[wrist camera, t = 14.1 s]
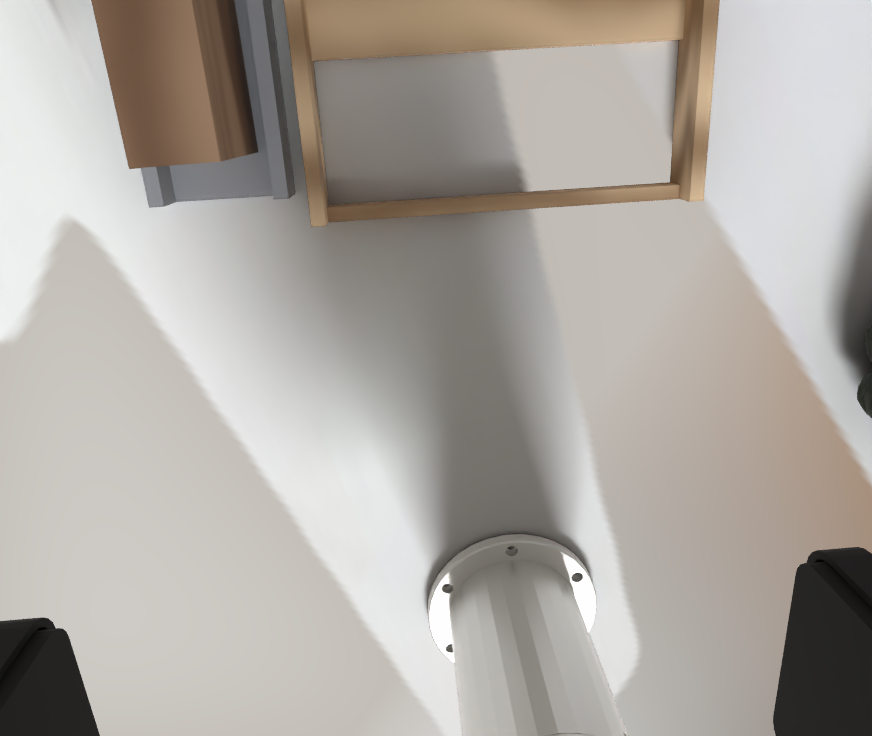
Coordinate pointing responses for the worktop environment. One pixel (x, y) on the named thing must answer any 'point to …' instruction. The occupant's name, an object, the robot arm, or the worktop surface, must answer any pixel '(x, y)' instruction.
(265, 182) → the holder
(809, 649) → the robot arm
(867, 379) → the squash
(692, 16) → the tray
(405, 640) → the worktop surface
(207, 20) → the brown rectangular block
